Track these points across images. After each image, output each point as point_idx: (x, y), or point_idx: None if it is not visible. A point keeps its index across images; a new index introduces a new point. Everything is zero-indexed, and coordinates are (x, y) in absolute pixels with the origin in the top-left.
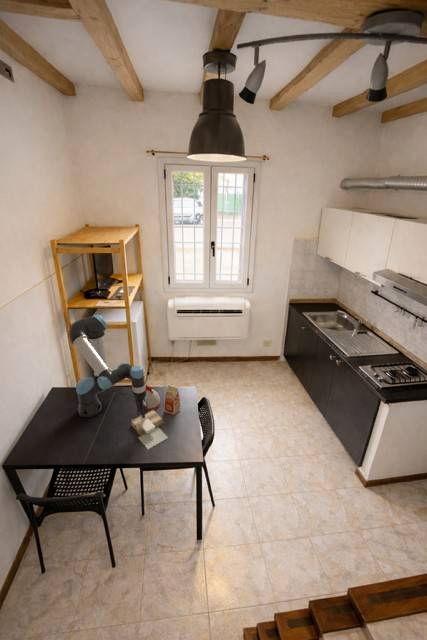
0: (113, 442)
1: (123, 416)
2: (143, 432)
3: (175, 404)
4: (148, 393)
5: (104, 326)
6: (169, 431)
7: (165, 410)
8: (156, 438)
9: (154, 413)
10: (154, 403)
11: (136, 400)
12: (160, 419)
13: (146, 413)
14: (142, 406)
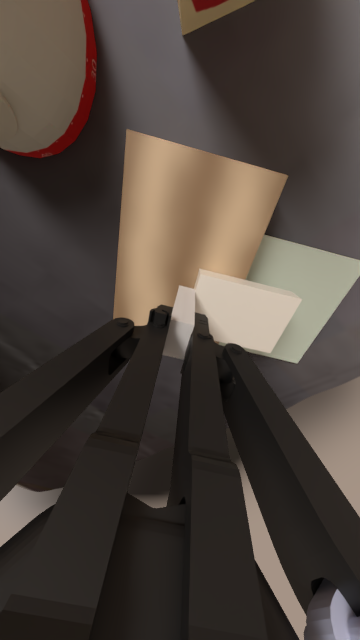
0: (152, 394)
1: (38, 288)
2: None
3: None
4: None
5: None
6: (349, 212)
7: (197, 7)
8: (300, 303)
9: (176, 166)
10: (53, 19)
11: (11, 483)
12: (272, 192)
13: (244, 353)
14: (285, 570)
